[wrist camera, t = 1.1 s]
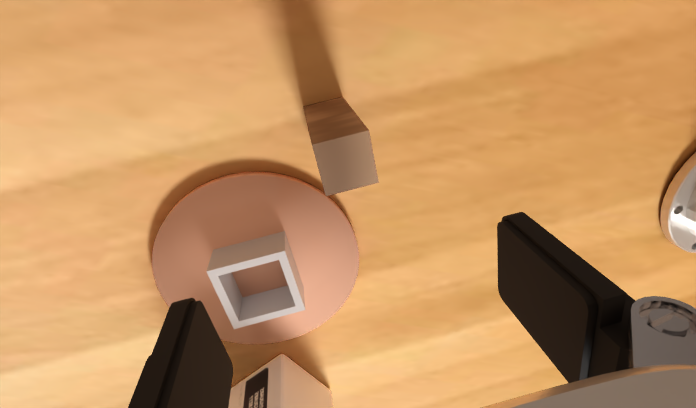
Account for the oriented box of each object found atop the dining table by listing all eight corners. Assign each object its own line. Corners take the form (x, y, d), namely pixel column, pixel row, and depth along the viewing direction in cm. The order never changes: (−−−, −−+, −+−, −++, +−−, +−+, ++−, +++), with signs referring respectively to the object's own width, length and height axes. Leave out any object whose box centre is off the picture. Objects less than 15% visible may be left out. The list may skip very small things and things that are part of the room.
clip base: (334, 147, 28) (340, 164, 24) (372, 310, 35) (381, 339, 32) (116, 203, 27) (93, 227, 24) (201, 356, 34) (193, 391, 31)
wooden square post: (342, 96, 26) (368, 130, 18) (350, 135, 27) (378, 182, 19) (303, 106, 26) (311, 144, 18) (313, 144, 27) (325, 196, 19)
